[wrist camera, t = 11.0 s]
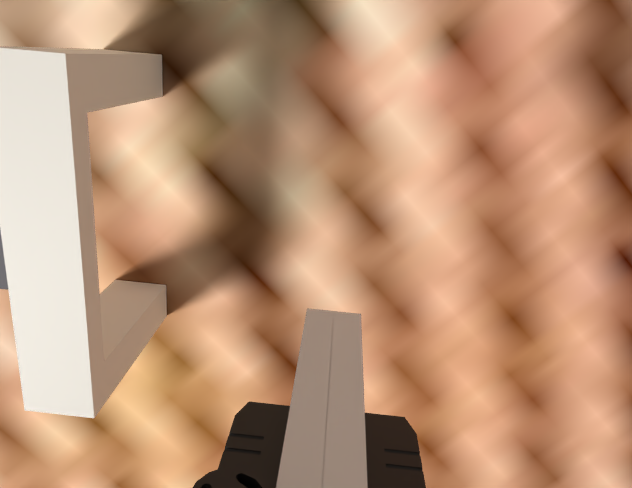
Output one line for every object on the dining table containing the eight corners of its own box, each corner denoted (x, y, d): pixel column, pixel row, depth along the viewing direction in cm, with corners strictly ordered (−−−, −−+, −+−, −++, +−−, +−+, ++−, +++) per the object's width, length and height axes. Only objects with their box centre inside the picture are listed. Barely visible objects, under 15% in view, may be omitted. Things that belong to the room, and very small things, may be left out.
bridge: (161, 54, 26) (65, 53, 17) (166, 315, 31) (94, 418, 22) (102, 49, 26) (-25, 45, 17) (116, 310, 31) (24, 410, 22)
